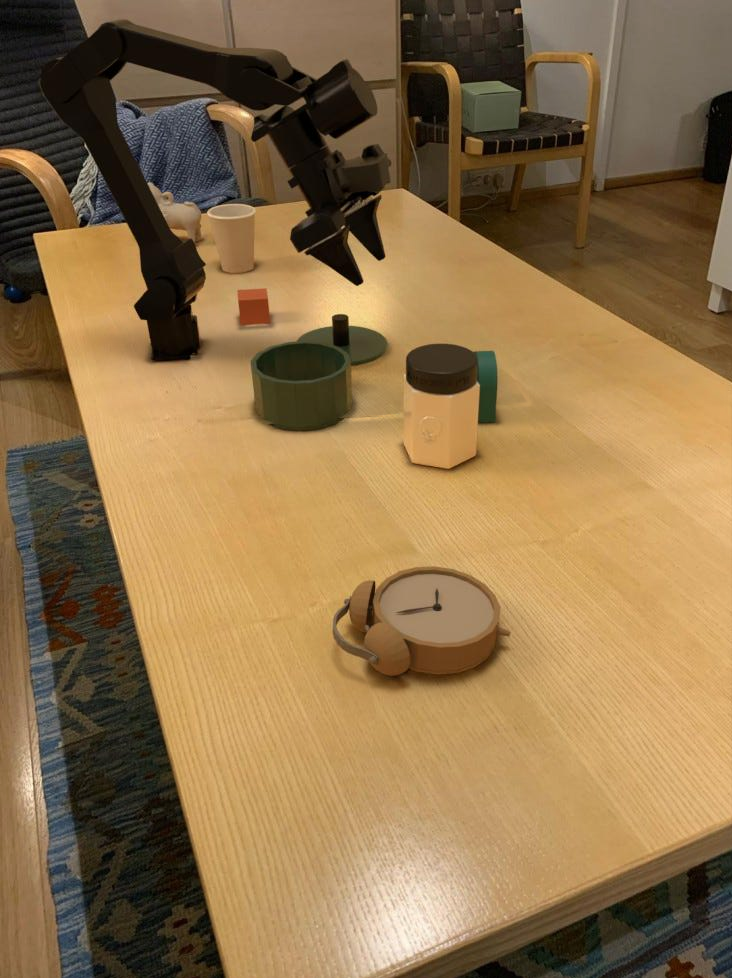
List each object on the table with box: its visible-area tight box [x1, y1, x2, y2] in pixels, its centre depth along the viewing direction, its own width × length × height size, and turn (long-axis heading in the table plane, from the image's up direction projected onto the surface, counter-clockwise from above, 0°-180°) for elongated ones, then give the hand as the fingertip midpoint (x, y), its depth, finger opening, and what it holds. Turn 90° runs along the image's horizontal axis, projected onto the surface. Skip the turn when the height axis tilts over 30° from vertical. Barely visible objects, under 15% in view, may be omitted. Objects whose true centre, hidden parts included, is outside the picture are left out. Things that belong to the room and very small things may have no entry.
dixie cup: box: [206, 203, 257, 274], centre depth 154 cm, size 8×8×10 cm
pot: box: [250, 341, 353, 432], centre depth 112 cm, size 12×12×6 cm
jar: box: [403, 343, 480, 470], centre depth 101 cm, size 9×8×12 cm
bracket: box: [473, 350, 499, 424], centre depth 115 cm, size 18×7×8 cm, turn 4°
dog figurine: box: [147, 182, 202, 244], centre depth 166 cm, size 5×13×11 cm, turn 82°
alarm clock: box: [332, 565, 511, 677], centre depth 77 cm, size 11×5×15 cm
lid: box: [295, 313, 388, 366], centre depth 127 cm, size 13×13×5 cm
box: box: [236, 287, 271, 326], centre depth 136 cm, size 4×4×4 cm
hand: (371, 271), depth 114 cm, fingers open, 9 cm apart
